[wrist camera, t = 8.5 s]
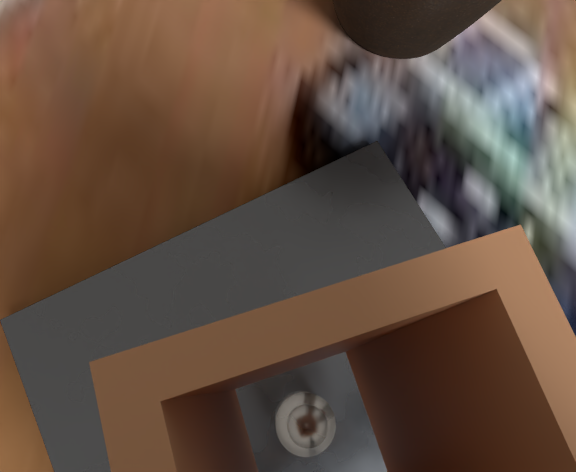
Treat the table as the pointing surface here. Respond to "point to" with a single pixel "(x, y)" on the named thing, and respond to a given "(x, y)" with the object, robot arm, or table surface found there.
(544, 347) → the sleeve
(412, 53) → the plant pot
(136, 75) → the table surface
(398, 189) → the plate
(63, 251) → the table surface
